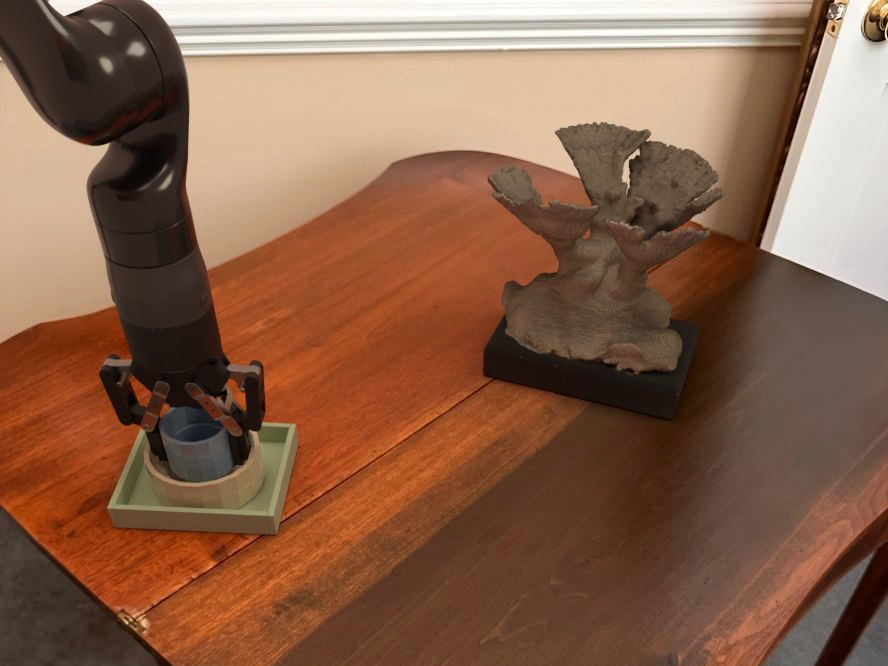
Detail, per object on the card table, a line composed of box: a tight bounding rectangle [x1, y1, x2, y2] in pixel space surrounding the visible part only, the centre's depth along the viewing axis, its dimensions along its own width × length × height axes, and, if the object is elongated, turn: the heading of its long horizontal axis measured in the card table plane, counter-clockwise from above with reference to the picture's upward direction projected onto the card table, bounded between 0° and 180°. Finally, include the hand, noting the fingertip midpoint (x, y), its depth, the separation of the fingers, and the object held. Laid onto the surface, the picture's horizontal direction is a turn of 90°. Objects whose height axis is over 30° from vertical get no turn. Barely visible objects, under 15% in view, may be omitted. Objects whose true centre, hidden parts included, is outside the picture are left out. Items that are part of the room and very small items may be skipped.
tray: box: [106, 421, 299, 536], centre depth 84 cm, size 15×13×2 cm
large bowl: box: [144, 430, 265, 510], centre depth 83 cm, size 11×11×4 cm
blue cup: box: [158, 406, 236, 483], centre depth 81 cm, size 6×6×5 cm
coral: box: [482, 121, 725, 420], centre depth 93 cm, size 25×20×22 cm
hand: (203, 457), depth 82 cm, fingers closed on blue cup, 6 cm apart
